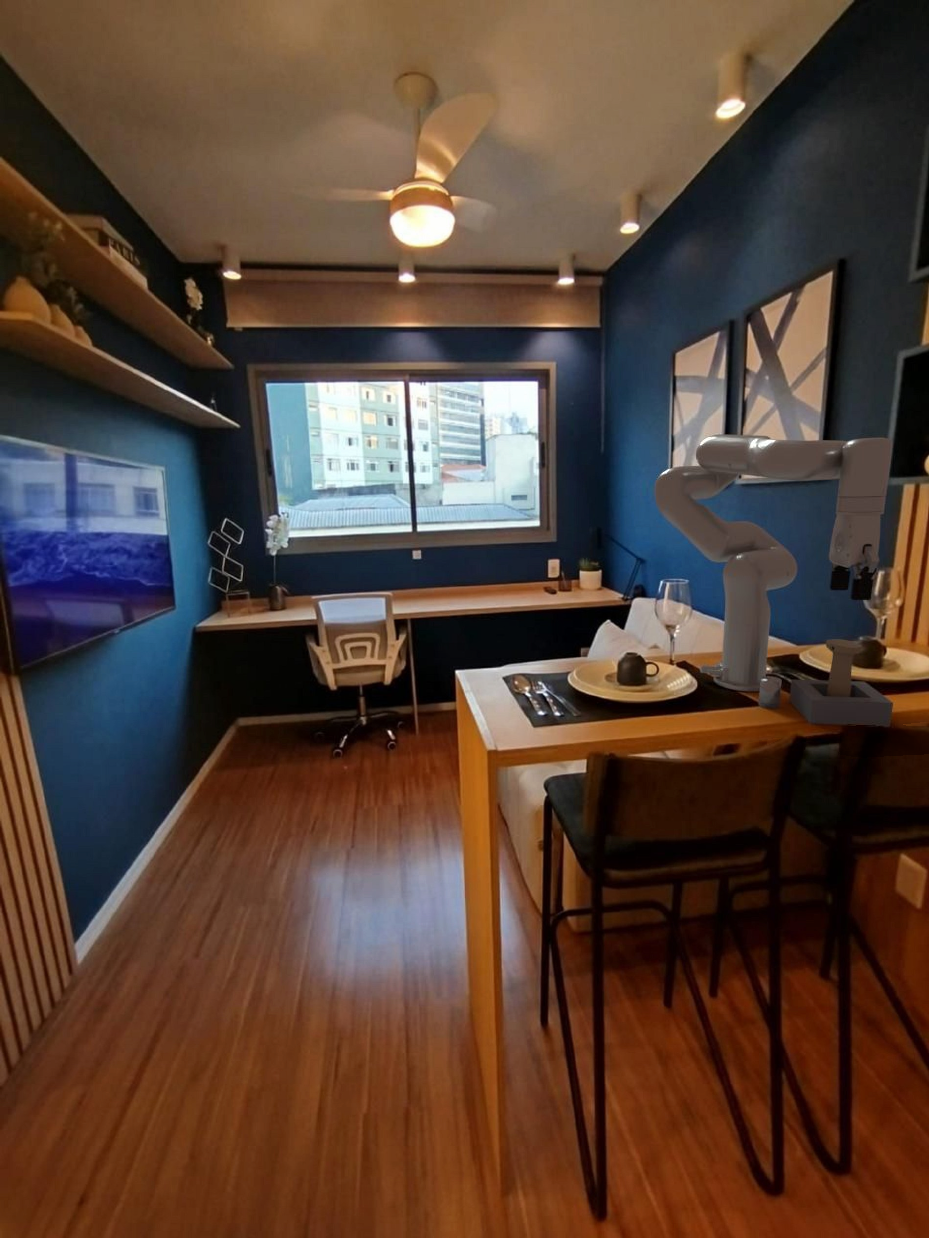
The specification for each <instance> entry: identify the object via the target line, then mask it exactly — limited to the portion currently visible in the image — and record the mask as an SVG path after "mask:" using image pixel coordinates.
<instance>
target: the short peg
mask: <svg viewBox="0 0 929 1238" xmlns="http://www.w3.org/2000/svg"><path fill="white" fill-rule="evenodd" d="M781 693H782V679H781V678H779V677H777V676H771V675H770V676H769V675H768V676H767V675H765V676H763V677H761V678H760V690H759V691H758V701H757V702H758V706H759V707H760V708H763V709H768V710H778V709H779V708H780V704H781V703H780V702H781Z"/></svg>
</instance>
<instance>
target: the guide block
mask: <svg viewBox="0 0 929 1238" xmlns="http://www.w3.org/2000/svg"><path fill="white" fill-rule="evenodd" d="M828 681H829V680H820V679H818V680H816V679H815V680H814V679H812V680H811V679H791V681H790V693H789V702H790V704H791V705H793V707H794V708H795V709H796V710H797V712H799V714H800V715H802V717H803V718H804V719H805V720H806V721H807V722H808V723H809V724H811V725H816V724H817V725H834V726H835V725H837V726H848V725H847V724H865V725H876V726H875V727H878V726H884V727H883V728H890V727H891V723H892V722H891V721H892V720H891V719H892V716H893V715H892V714H893V706H894V702H893V701H891V700H890V699H889V698H887V697H886V696H884V695H883V694H882V693H881V692H879V691H878V690H877V689H875V688H874V687H872V686H871V685H870V684H868V683H867V682H866V681H853V680H851V691H850V697H829V696H827V688H828Z"/></svg>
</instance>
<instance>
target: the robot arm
mask: <svg viewBox="0 0 929 1238" xmlns="http://www.w3.org/2000/svg"><path fill="white" fill-rule="evenodd" d="M892 452H893V442H892V440H891V439H889V438H888V437H887V438H886V437H867V438H864V437H863V438H856V439H851V440H847V441H846V440H828V439H827V440H826V439H825V440H823V439H822V440H818V439H817V440H814V439H813V440H793V439H791V440H789V439H772V438H771V437H770V436H767V435H747V434H746V435H745V434H720V433H719V434H714V435H713V434H712V435H711V436H707V437H706V438H704V439H703V440H702V441H700V443H699V444H698V445H697V447H696V451H695V459H696V462H697V463H698V465H684V466H683V465H680V466H674V467H671V468H668V469H666V470H664V471H663V472H662V473H660V474H659V476H658V477H657V479H656V481H655V483H654V498H655V503H656V505H657V508H658V510H659V512H660V513H661V515H662V516H663V517H664V519H666V520H667V521H668V522H669V523H670V524H671V525H672V526H673V527H675V528H676V529H677V530H678V531H680V533H681V534H682V535H684V537H685V538H686V539H687V540H689V542H690V543H691V544H692V545H693V546H694V547H695V548H696V549H698V550H699V552H701V554H702V555H703V556H704V557H705V558H707V559H708V560H709V561H711V562H715V563H725V565H724V568H723V569H722V571H723V572H722V582H723V588H724V600H725V601H724V603H725V607H724V624H723V638H722V657H721V660H718V662H717V663H715V664H714V665H709V664H700V668H699V669H700V670H699V671H700V674H701V673H702V674H707V675H708V676H713V682H714V683H715V684H716V685H718V686H721V687H722V688H725V689H728V690H734V691H741V692H759V690H760V678H761V677H763V676H766V673H767V672H766V671H767V660H768V648H769V635H770V626H771V625H770V624H771V606H770V602H769V599H768V596H767V591H770V590H771V591H772V590H776V589H780V588H783V587H786V586H788V585H790V584H791V583H793V581H794V580H795V578H796V576H797V574H798V564H797V561H796V559H795V557H794V556H793V554H792V553H791V552H790V551H789V550H788V549H787V548H786V547H785V546H783V544H781V542H779V541H777V540H776V539H775V538H774V537H773V536H772V535H771V534H770V533H768V532H767V530H765V529H763V528H762V527H761V526H760V525H758V524H756V523H754V522H751V521H746V520H740V521H739V520H738V521H727V520H724V519H722V518H720V517H719V516H718V515H717V514H716V513H715V512H713V511H712V510H711V509H710V508H709V507H708V506H706V505H704V504H702V503H701V502H699V501H697V500H706V499H710V498H713V497H714V496H716V495H718V494H720V493H721V492H722V491H723V490H724V489H726V487H728V486H729V485H730V484H731V483H733V482H734V481H735V480H736V479H738V478H739V477H740V476H741V475H743V476H744V475H745V476H753V477H761V478H767V479H768V478H769V479H777V480H778V479H779V480H788V481H797V482H799V481H801V482H803V481H804V482H807V481H808V482H809V481H826V480H837V479H839V482H838V491H837V498H836V510H835V515H836V518H835V521H834V525H833V531H832V535H831V540H830V547H829V552H828V560H829V561H830V562H831V563H832V564H831V574H830V583H829V590H831V591H848V590H849V586H850V578H851V577H850V576H851V570H849V569H850V568H851V567H852V568H853V572H854V576H855V578H852V581H851V582H852V583H851V591H850V600H853V601H870V600H871V599H872V593H873V592H872V591H873V586H874V585H873V584H874V580H875V578H876V572H877V571H878V566H879V562H880V557H879V549H880V538H881V515H883V514H884V512H885V506H886V500H887V499H886V496H887V492H888V491H887V490H888V483H889V477H890V468H891V461H892V454H893V453H892Z"/></svg>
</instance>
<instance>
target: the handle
mask: <svg viewBox="0 0 929 1238" xmlns="http://www.w3.org/2000/svg"><path fill="white" fill-rule="evenodd" d="M825 647H826V648H827V649H828V650H829V651H830V652H831V653H832V658H831V666H830V670H829V676H828V677H829V678H828V680H827V681H828V688H827V696H829V697H850V691H851V681H852V670H853V669H852V666H853V657H854V656H855V655H858V654H861V652H862V650H863V645H861V644H860V643H858V642H855V641H852V640H846V639H841V638H832V639H826V641H825Z"/></svg>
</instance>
